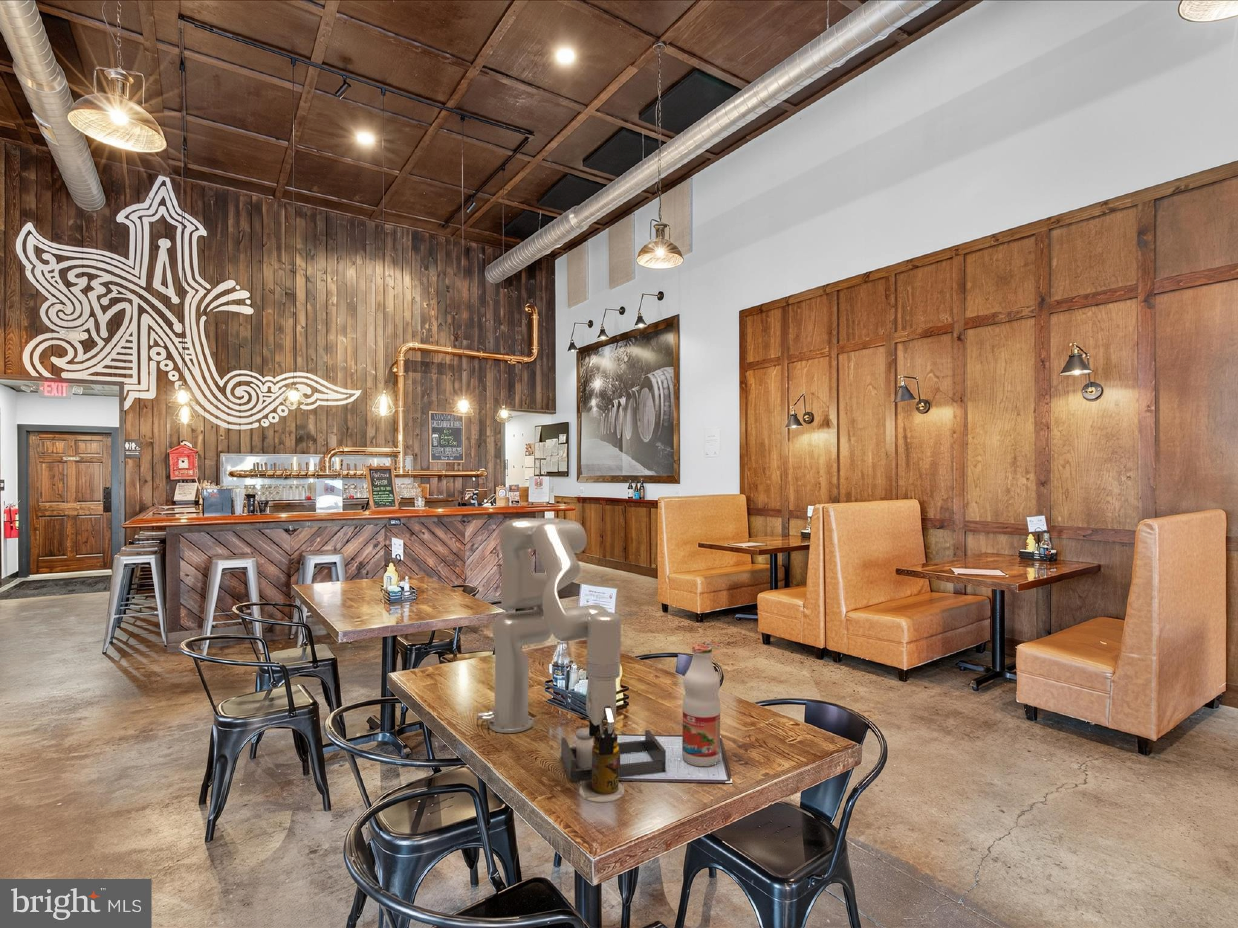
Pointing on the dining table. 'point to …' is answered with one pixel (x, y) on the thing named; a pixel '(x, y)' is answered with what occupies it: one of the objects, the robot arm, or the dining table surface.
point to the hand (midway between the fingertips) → (600, 744)
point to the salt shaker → (584, 748)
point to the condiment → (603, 772)
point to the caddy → (627, 769)
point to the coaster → (603, 798)
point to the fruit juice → (701, 710)
